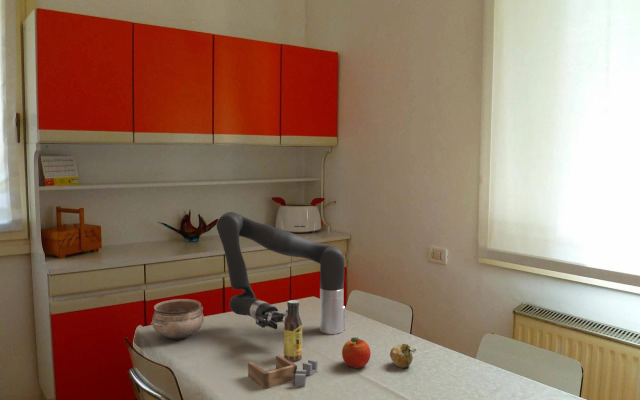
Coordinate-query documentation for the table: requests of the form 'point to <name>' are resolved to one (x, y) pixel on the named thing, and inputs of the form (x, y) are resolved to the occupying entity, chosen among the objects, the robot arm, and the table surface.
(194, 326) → the cooking pot
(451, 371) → the table surface
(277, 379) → the frame
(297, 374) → the clip
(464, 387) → the table surface
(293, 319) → the sauce bottle
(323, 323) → the robot arm
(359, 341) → the fruit
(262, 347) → the table surface
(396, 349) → the onion
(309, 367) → the clip
